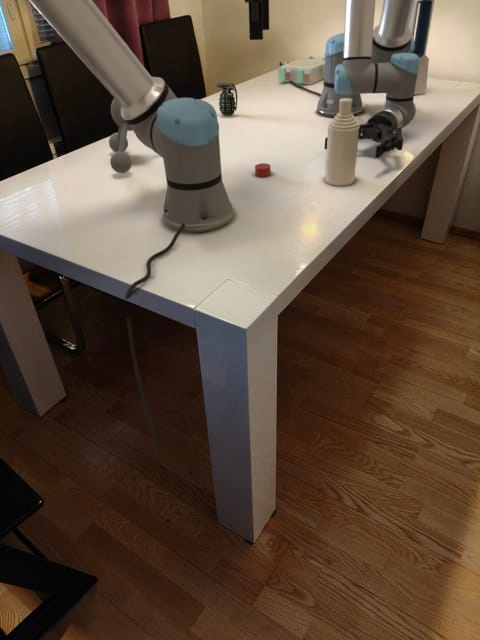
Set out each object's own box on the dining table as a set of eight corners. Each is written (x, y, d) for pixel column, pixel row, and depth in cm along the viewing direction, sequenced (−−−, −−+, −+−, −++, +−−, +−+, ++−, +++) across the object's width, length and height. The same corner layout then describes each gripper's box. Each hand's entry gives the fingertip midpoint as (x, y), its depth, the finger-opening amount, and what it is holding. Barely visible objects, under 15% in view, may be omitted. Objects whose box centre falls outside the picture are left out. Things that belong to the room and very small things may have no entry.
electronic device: (395, 97, 177) (408, -1, 159) (385, 92, 183) (397, -3, 164) (425, 93, 179) (442, -4, 161) (414, 89, 185) (429, -6, 167)
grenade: (217, 117, 168) (214, 86, 162) (221, 112, 172) (219, 82, 166) (235, 117, 166) (233, 86, 160) (239, 113, 171) (238, 82, 165)
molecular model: (195, 164, 133) (181, 39, 115) (114, 179, 127) (87, 50, 109) (172, 140, 150) (157, 28, 132) (101, 152, 145) (75, 37, 126)
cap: (257, 170, 128) (257, 162, 126) (272, 171, 127) (272, 163, 125) (253, 176, 125) (252, 168, 123) (268, 177, 124) (268, 169, 122)
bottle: (358, 176, 121) (366, 96, 110) (348, 187, 116) (356, 105, 105) (331, 172, 124) (336, 94, 113) (320, 183, 119) (325, 102, 108)
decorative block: (301, 54, 217) (341, 57, 207) (300, 70, 221) (340, 74, 211) (269, 65, 201) (312, 69, 191) (269, 82, 205) (311, 87, 195)
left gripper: (270, -98, 83) (271, 43, 96) (281, -92, 103) (281, 25, 116) (227, -95, 84) (234, 44, 97) (246, -89, 104) (250, 26, 117)
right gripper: (427, 145, 130) (397, 171, 116) (341, 132, 142) (305, 155, 128) (432, 115, 125) (402, 139, 112) (343, 105, 137) (306, 125, 124)
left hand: (260, 34), depth 106 cm, fingers open, 13 cm apart
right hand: (350, 148), depth 120 cm, fingers open, 13 cm apart
